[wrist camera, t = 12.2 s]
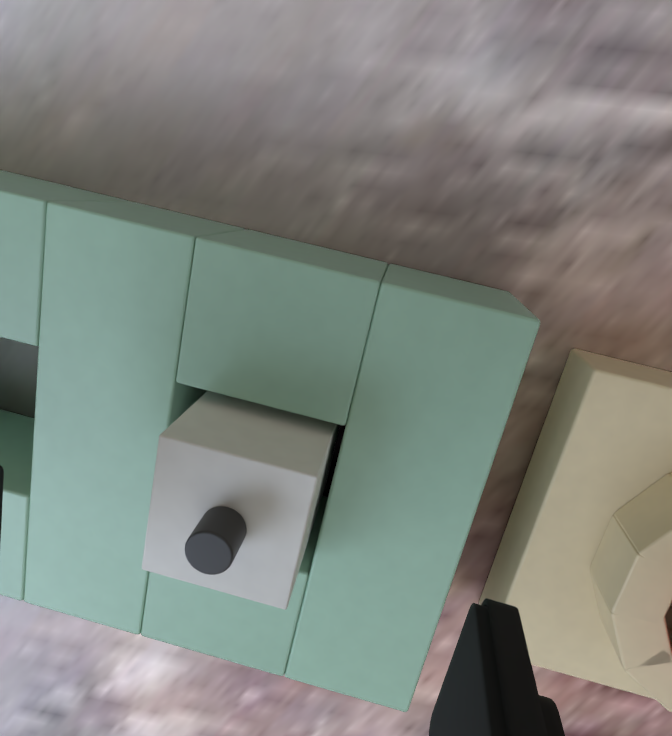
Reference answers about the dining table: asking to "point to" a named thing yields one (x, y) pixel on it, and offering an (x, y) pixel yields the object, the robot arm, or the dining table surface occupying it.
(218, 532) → the white block with knob
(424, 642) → the green socket board
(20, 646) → the dining table surface
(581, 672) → the switch box
